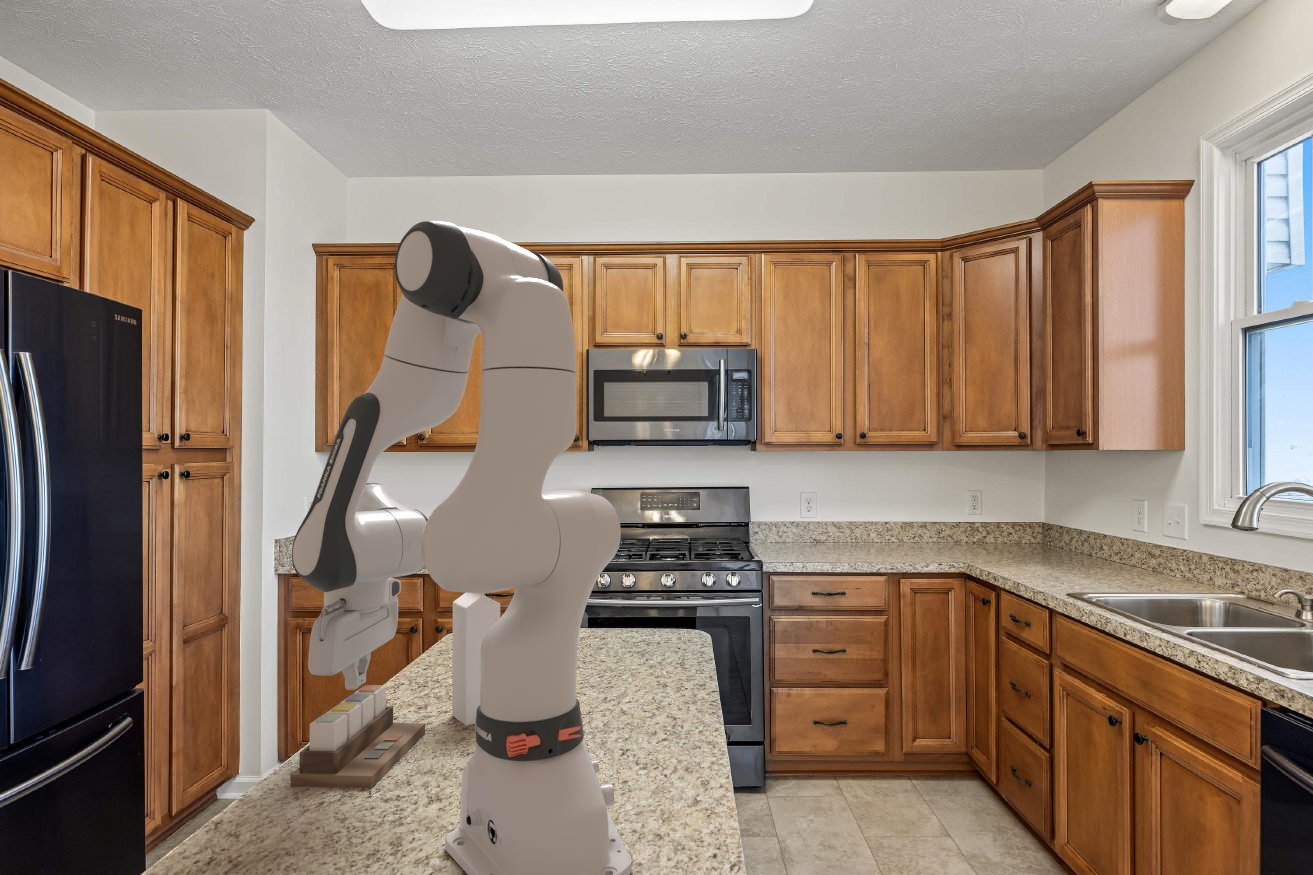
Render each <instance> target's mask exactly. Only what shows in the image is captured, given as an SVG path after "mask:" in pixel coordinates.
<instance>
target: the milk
mask: <svg viewBox="0 0 1313 875" xmlns="http://www.w3.org/2000/svg"><path fill="white" fill-rule="evenodd" d="M500 617H501V603H500V602H498V601H496V600H494V599H492V598H490V597H488V596H486V595H485V593H466V592H464V593H462V595H461V596H459V597H457V598H456V599H455V600H454V601H452V674H451V675H452V681H451V682H452V690H451V691H452V696H451V697H452V699H451V701H452V703H451V704H452V706H451V708H452V710H451V711H452V712H451V715H452V716H453V717H454V718H455V719H456V720H458V721H459V722H460V723H462V724H463V725H464V726H466V727H467V726H472V725H475V719H476V711H477V708H478V706H479V705H480V648H481V643H482V640H483V638H484V636H485V634H486V632H487V631H488V630H489V628H490V627H491V626H492V625H493V624H494V623H495V622H496V621H497V620H498V619H499V618H500Z"/></svg>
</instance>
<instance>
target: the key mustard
mask: <svg viewBox="0 0 1313 875" xmlns="http://www.w3.org/2000/svg"><path fill="white" fill-rule="evenodd" d="M325 714H342V715H347V741H349V740H350V739H351V738H352V737H354V736H355V735H356V734H357V733H358V732H360V731H361V705H359V704H348V703H341V702H340V703H338V704H336V705H335V706H333V707H332V708H331V709H329V710H328V711H326V713H325Z"/></svg>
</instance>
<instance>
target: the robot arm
mask: <svg viewBox="0 0 1313 875" xmlns="http://www.w3.org/2000/svg"><path fill="white" fill-rule="evenodd" d="M394 258H395V259H394V276H395V280H396V283H397V285H398V287H399V290H400V292H401V294H402V295H401V297H400V299H399V302H398V304H397V307H396V310H395V313H394V315H393V319H392V321H391V325H390V328H389V332H388V336H387V339H386V343H385V348H384V354H383V359H382V362H381V366H380V368H379V371H378V372H377V375H375V378H374V380H373V381H372V383H371V384H370V386H369V387H368V388H367V389H366V390H365V391H364V393H363V394H360V395H359V396H357V397H355V398H354V399H353V400H352V401H351V402H350V404H349V405H348V407H347V409H346V411H345V413H344V416H343V418H342V420H341V423H340V426H339V428H338V430H337V433H336V436H335V438H334V441H333V443H332V446H331V449H330V452H329V455H328V457H327V460H326V463H325V466H324V468H323V471H322V474H321V477H320V480H319V483H318V485H317V489H316V490H315V491H316V492H315V494H314V496H313V500H312V502H311V505H310V507H309V509H308V511H307V513H306V515H305V516H304V518H303V520H302V521H301V524H300V526H299V527H298V530H297V532H296V533H295V536H294V539H293V542H292V545H291V546H292V547H291V563H292V566H293V569H294V571H295V573H296V575H298V577H299V578H300V579H301V580H303V581H304V582H305V583H306V584H308V586H311V587H312V588H314V589H316V590H318V591H320V592H323V607H322V610H321V612H320V614H319V616H318V617H317V618H316V619H315V621H314V623H313V624H312V627H311V633H310V638H309V639H310V640H309V649H308V658H307V659H308V660H307V661H308V662H307V667H308V670H309V672H310V674H311V675H313V676H314V675H315V676H335V675H337V674H338V673H340V672H341V673H342V674H343V677H344V688H345V690H347V691H355V690H357V689H358V688H360V687H361V686H362V685H364V684H365V683H366V682H367V671H368V668H369V665H370V662H371V658H372V652H373V651H375V650H377V649H378V648H379V647H381V646H383V645H385V644H386V643H387V642H389V641H390V640H393V639H395V638H394V637H395V635H396V633H397V630H398V619H399V598H398V595H400V594H401V591H402V582H401V580H400V579H397V578H398V577H399V578H400V577H405V576H408V575H413V574H415V573H417V572H421V571H422V570H424V569H425V570H426V571H427V573H428V574H429V576H430V578H431V579H432V580H433V581H434V582H435V583H436V584H437V585H438V586H439V587H440V588H441V589H443V590H445V591H447V592H455V593H456V592H457V593H484V594H491V593H497V592H502V591H503V592H504V591H507V590H508V591H509V590H514V594H513V596H512V598H511V601H510V602H509V604H508V607H507V608H506V610H505V611H504V613H503V614H502V615H500V618H499V619H498V620H497V621H496V622H495V623H494V624H493V625H492V626H491V627H490V628H489V630H488V631H487V632H486V634H485V636H484V638H483V640H482V643H481V648H480V705H479V706H478V708H477V711H476V719H475V724H474V730H475V742H476V744H477V745H476V747H475V749H474V751H473V753H472V755H471V756H470V757H469V759H468V760H467V761H466V763H465V765H463V767H462V770H461V771H462V774H461V788H460V789H461V791H460V793H461V794H460V810H459V812H460V813H459V826H458V827H457V828H455V829H454V830H453V831H451V832H450V833H448V834H447V835H446V837H445V843H444V849H445V851H446V852H447V853H448V854H449V856H451V858H452V859H453V860H454V861H455V863H457V864H458V865H459V866H460V868H461V869H462V870H463V871H464V872H465V873H466V875H630V874H631V873H632V872H633V868H632V867H633V866H632V860H631V858H630V855H629V853H628V851H627V849H626V847H625V845H624V843H623V840H622V837H621V836H620V834H619V831H618V830H617V827H616V825H615V822H614V821H613V819H612V816H611V813H610V811H609V809H608V807H610V806H613V805H614V804H615V790H614V787H613V784H612V783H610V782H608V783H602V784H601V783H600V782H599V779H598V775H597V774H598V773H599V770H600V765H599V760H597V759H594V760H592V759H591V756H590V753H589V751H588V747H587V741H586V740H585V739H584V737H585V734H584V727H583V723H584V720H583V714H582V711H581V705H580V701H579V699H578V698H577V677H578V676H577V669H578V646H579V645H578V644H579V637H580V629H581V625H582V620H583V617H584V613H585V610H586V607H587V604H588V601H589V598H590V596H591V594H592V591H593V588H594V586H595V584H596V582H597V580H598V579H599V578H600V577H599V576H600V575H601V573H602V572H603V571H604V570H605V569H606V567H607V566H608V564H609V563H610V562H611V561H612V560H613V559H614V558H615V556H616V555H617V553H618V550H619V548H620V544H621V538H622V537H621V536H622V530H621V522H620V519H619V516H618V514H617V511H616V509H615V507H614V506H613V505H612V503H611V502H610V501H609V500H608V499H606V498H605V497H604V496H602V495H599V494H597V493H596V494H594V493H591V492H588V491H583V490H578V489H571V488H567V489H544V490H543V487H544V482H545V480H546V476H547V474H548V472H549V469H550V467H551V465H552V464H553V462H554V461H555V459H556V458H557V457H558V456H559V455H562V454H563V453H564V452H565V451H566V450H568V449H569V448H570V447H571V445H572V444H573V442H574V440H575V438H576V435H577V400H578V399H577V393H578V392H577V390H578V389H577V385H578V384H577V382H578V381H577V378H578V377H577V376H578V375H577V368H578V367H577V349H576V338H575V331H574V324H573V322H574V321H573V318H572V313H571V312H572V311H571V307H570V303H569V299H568V298H567V295H566V294H565V292H564V282H563V277H562V275H561V272H560V271H559V269H558V267H557V266H556V265H555V264H554V263H553V262H551V261H550V260H549V259H548V258H547V257H545V256H544V255H542V254H540V253H538V252H537V251H534V250H532V249H531V250H530V249H526V248H523V247H522V246H519V245H517V244H515V243H512V242H510V241H507V240H505V239H502V238H501V237H499V236H498V235H494V234H491V233H488V232H486V231H485V232H484V231H481V230H476V229H473V228H467V227H461V226H458V225H456V224H455V223H452V222H449V221H448V222H447V221H438V220H425V221H420V222H418V223H416V224H413V226H411V227H410V228H409V229H408V230H407V232H406V233H405V234H404V235H403V237H402V238H401V240H400V242H399V244H398V246H397V250H396V253H395V257H394ZM480 334H481V339H482V340H481V341H482V348H481V349H482V350H481V352H482V353H481V388H480V389H481V391H480V392H481V393H480V396H481V397H480V415H479V416H480V417H479V430H478V436H477V442H476V446H475V449H474V453H473V455H472V458H471V461H470V463H469V465H468V468H467V470H466V472H465V474H464V476H463V477H462V478H461V480H460V482H459V484H458V485H457V486H456V488H455V489H454V490H453V491H452V492H451V494H450V495H449V496H448V497H447V498H446V499H444V501H443V502H441V503H440V504H439V505H437V506H436V508H434V509H433V511H432V512H431V513H430V515H429V516H428V517H427V516H426V515H425V514H424V513H423V512H421V511H420V510H418V509H412V508H411V507H408V506H406V505H404V504H402V503H400V502H399V501H397V500H396V499H395V498H393V497H392V496H391V494H390V492H389V490H388V488H387V487H386V485H384V484H381V483H379V482H378V483H377V482H368V480H369V477H370V474H371V471H372V468H373V466H374V465H375V462H376V461H377V459H378V457H380V455H382V453H383V452H385V451H386V450H387V449H388V448H390V447H392V446H393V445H394V444H396V443H398V442H401V441H402V440H404V439H406V438H409V437H411V436H414V435H417V434H418V433H422V432H426V431H428V430H430V429H433V428H435V427H437V426H439V425H441V424H443V423H444V422H446V421H447V420H448V419H450V418H451V417H452V416H453V415H454V414H455V413H456V412H457V410H458V409H459V407H460V405H461V403H462V402H463V401H462V400H463V398H464V395H465V393H466V388H467V385H468V384H467V383H468V378H469V371H470V368H471V361H472V357H473V356H472V354H473V349H474V345H475V341H476V339H477V337H478V336H479V335H480Z"/></svg>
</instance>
